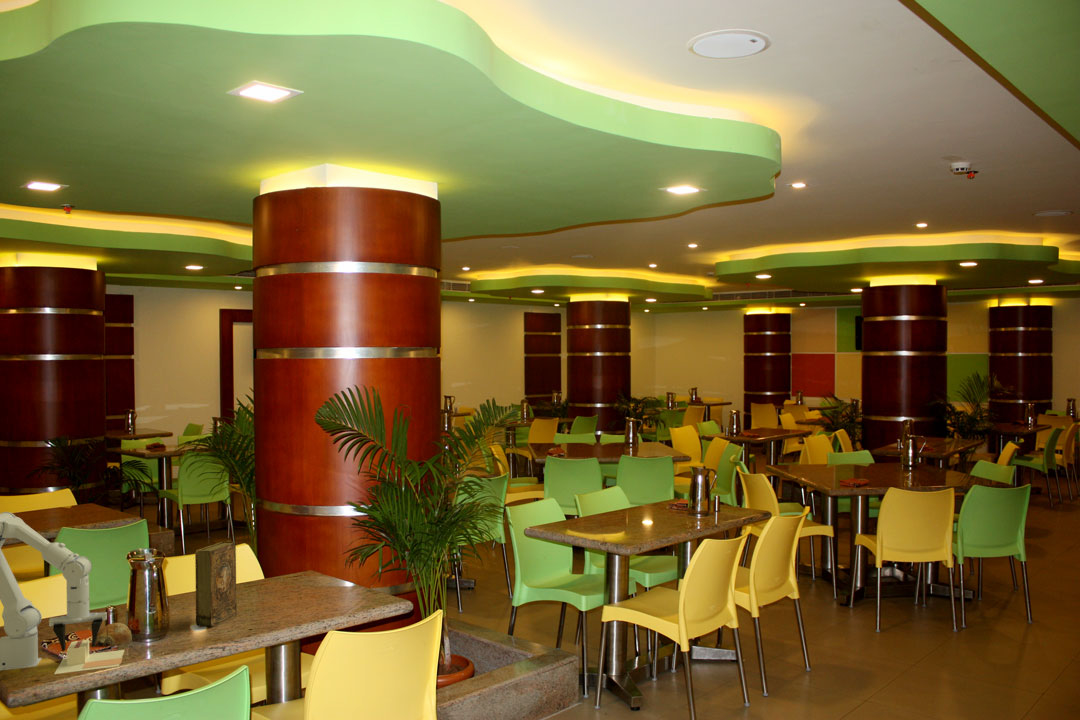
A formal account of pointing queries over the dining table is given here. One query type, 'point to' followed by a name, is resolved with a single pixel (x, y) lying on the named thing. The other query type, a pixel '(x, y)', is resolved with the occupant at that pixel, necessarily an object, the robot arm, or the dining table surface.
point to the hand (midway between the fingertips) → (78, 648)
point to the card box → (78, 652)
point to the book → (215, 584)
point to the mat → (93, 662)
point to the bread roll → (114, 635)
